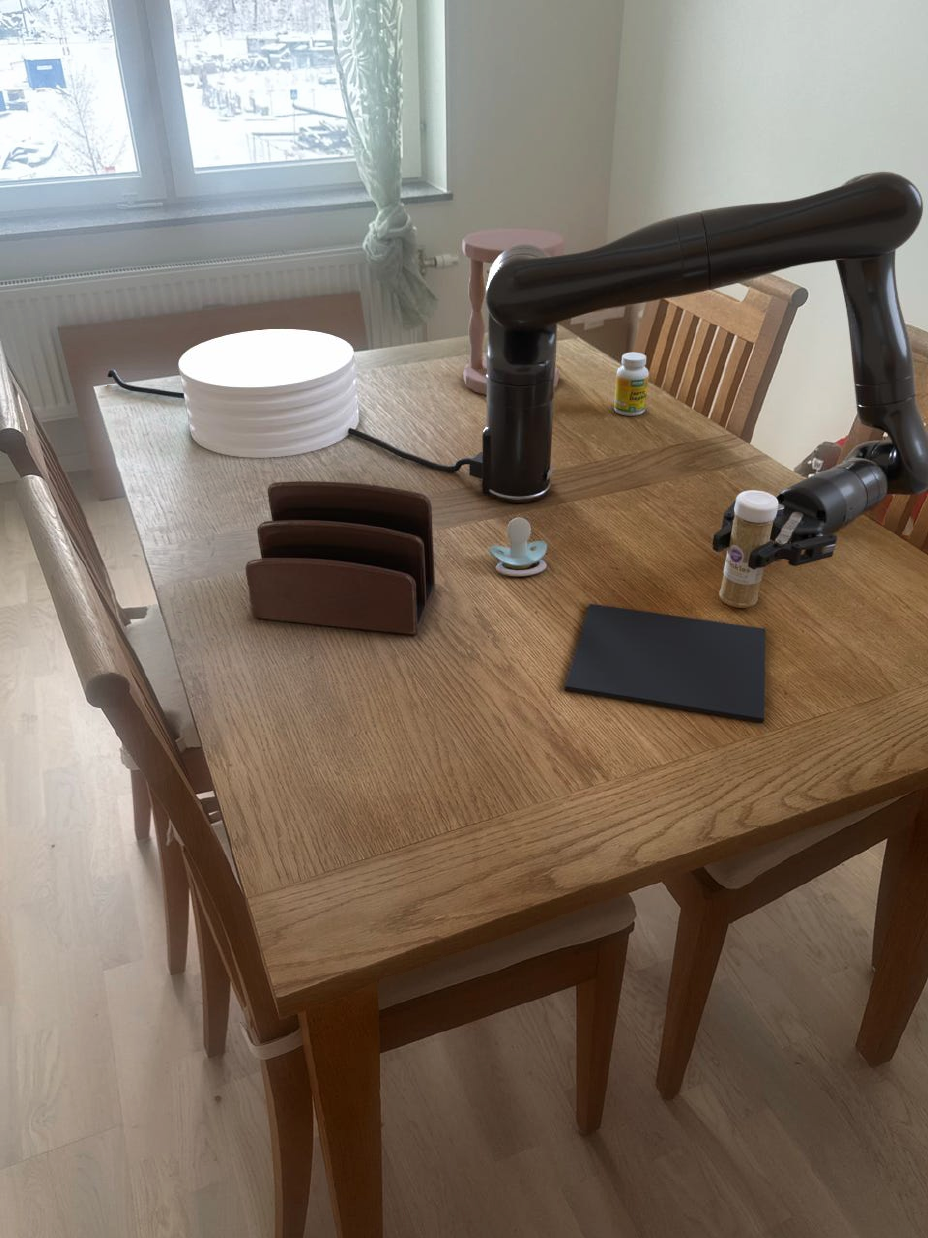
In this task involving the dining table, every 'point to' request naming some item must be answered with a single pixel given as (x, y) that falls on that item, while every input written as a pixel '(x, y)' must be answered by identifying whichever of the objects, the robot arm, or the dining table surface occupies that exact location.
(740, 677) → the placemat
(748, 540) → the sprinkles bottle
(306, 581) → the letter holder
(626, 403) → the supplement bottle
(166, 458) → the dining table surface
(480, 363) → the hourglass
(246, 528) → the dining table surface
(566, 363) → the dining table surface
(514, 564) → the pacifier
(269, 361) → the plate stack
